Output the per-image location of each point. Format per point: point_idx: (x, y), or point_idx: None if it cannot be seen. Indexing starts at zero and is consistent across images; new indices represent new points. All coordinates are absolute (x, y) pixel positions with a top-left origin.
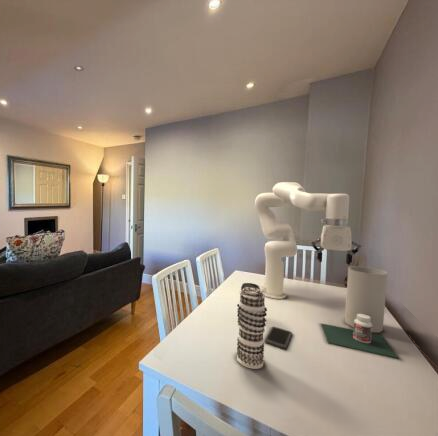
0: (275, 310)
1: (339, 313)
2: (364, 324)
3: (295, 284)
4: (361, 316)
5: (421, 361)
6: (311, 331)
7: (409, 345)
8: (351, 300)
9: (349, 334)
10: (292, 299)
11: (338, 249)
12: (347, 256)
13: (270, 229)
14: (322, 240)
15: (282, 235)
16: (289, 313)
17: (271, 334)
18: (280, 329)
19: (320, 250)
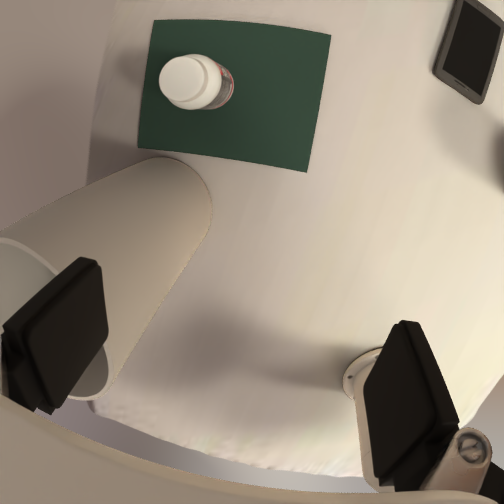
0: (431, 250)
1: (207, 285)
2: (195, 56)
3: (272, 447)
4: (193, 67)
5: (108, 37)
6: (362, 104)
7: (93, 118)
8: (174, 220)
9: (236, 112)
10: (330, 357)
11: (116, 469)
12: (53, 359)
13: None
14: None
15: None
16: (392, 238)
17: (490, 52)
18: (464, 85)
19: (463, 465)
